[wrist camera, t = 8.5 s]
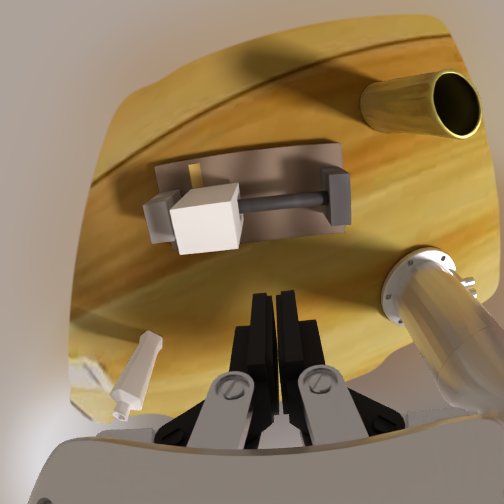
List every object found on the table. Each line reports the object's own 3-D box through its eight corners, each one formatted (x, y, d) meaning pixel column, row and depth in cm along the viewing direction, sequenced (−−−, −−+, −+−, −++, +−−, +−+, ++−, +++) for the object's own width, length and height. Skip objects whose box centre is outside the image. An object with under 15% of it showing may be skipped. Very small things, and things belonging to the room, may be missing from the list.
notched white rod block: (238, 182, 29) (230, 201, 22) (243, 219, 31) (238, 248, 24) (190, 189, 29) (169, 209, 23) (197, 225, 31) (180, 254, 24)
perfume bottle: (172, 347, 42) (145, 426, 28) (150, 352, 43) (120, 427, 29) (155, 325, 40) (120, 404, 27) (134, 332, 41) (97, 406, 28)
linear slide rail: (337, 142, 29) (355, 147, 23) (341, 227, 33) (357, 250, 27) (158, 164, 31) (135, 175, 25) (176, 245, 35) (159, 270, 29)
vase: (365, 73, 25) (431, 47, 12) (411, 94, 26) (491, 88, 13) (353, 122, 28) (416, 124, 15) (400, 140, 28) (477, 158, 15)
